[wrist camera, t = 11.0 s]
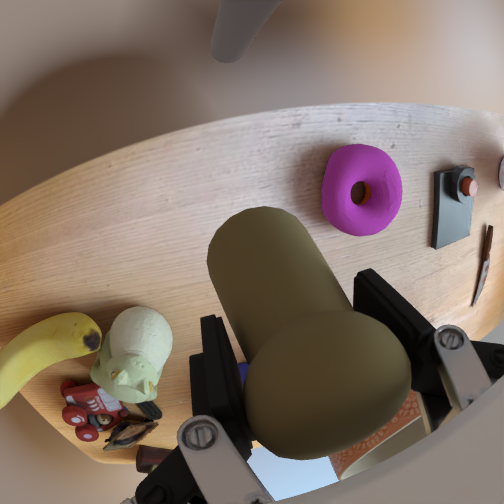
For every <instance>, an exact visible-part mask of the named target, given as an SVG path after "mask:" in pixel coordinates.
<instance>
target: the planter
mask: <svg viewBox="0 0 504 504" xmlns="http://www.w3.org/2000/svg"><path fill="white" fill-rule="evenodd" d="M425 437H426V433H425V429H424V425H423V421H422V417H421V414H420V410H419V406H418V403H417V399H416V396H415V392H414V391H413V390H412V389H411V390H410V392H409V394H408V396H407V398H406V400H405V402H404V403H403V405H402V407H401V409H400V410H399V412H398V413H397V414H396V415H395V416H394V417H393V418H392V419H391V421H390V422H388V423H387V424H386V425H385V426H384V427H382V428H381V429H380V430H379V431H378V432H376V433H375V434H373V435H372V436H370V437H369V438H367V439H365V440H364V441H362V442H360V443H358V444H356V445H354V446H352V447H350V448H348V449H346V450H343V451H341V452H338V453H335V454H333V455H330V456H328V457H329V459H330V461H331V464H332V467H333V469H334V471H335V473H336V476H337V478H338V480H339V481H341V480H343V479H346V478H348V477H351V476H353V475H355V474H358V473H360V472H362V471H364V470H366V469H369V468H371V467H373V466H375V465H377V464H379V463H381V462H383V461H385V460H387V459H389V458H391V457H392V456H394V455H396V454H398V453H400V452H402V451H403V450H405V449H407V448H408V447H410V446H412V445H413V444H415V443H417V442H418V441H420V440H422V439H423V438H425Z"/></svg>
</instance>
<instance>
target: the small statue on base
mask: <svg viewBox="0 0 504 504" xmlns="http://www.w3.org/2000/svg"><path fill="white" fill-rule="evenodd" d="M172 451H173V450H167V449H160V448H154V447H147V446H144V445H141V446H140V447H139V450H138V453H137V457H136V468H137V471H138V472H141V473H148V475H149V474H150V473H151V472H152V471H153V470H154V469H155V468H156V467H157V466H158V465H159V464H160V463H161V462H162V461H163V460H164V459H165V458H166V457H167V456H168V455H169V454H170V453H171V452H172Z"/></svg>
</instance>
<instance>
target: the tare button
mask: <svg viewBox="0 0 504 504" xmlns="http://www.w3.org/2000/svg"><path fill="white" fill-rule="evenodd" d="M461 191H462V193H463V194H466V195H468V196H471V197H473V196H475V194H476V192H477V182H476V180H474V179H471V178H467V177H465V178H464V179H463V181H462V186H461Z"/></svg>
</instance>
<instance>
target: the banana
mask: <svg viewBox="0 0 504 504" xmlns="http://www.w3.org/2000/svg"><path fill="white" fill-rule="evenodd" d="M101 339H102V333H101V330H100V328H99V327H98V326H97V324H96V323H95V322H94V321H93V320H92V319H91V318H90V317H89V316H87V315H85V314H83V313H79V312H70V313H63V314H59V315H55V316H52V317H50V318H47V319H45V320H43V321H40V322H38V323H36V324H34V325H32V326H30V327H29V328H27V329H25V330H24V331H23V332H21V333H20V334H18V335H17V336H16V337H15V338H13V339H12V340H11V341H10V342H9V343H8V344H7V345H5V346H4V347H3V348H2V349H1V350H0V409H1V408H3V407H4V406H5V405H6V404H7V403H8V402H9V401H10V400H11V399H12V398H13V397H14V395H15V394H16V393H17V392H18V391H19V390H20V389H21V388H22V387H23V386H24V385H25V384H26V383H27V382H28V381H29V380H30V379H31V378H32V377H34V376H35V375H36V374H37V373H39V372H40V371H41V370H43V369H45V368H46V367H48V366H50V365H52V364H55V363H57V362H60V361H63V360H66V359H70V358H77V357H81V356H85V355H87V354H90V353H93V352H95V351H97V350H98V349H99V347H100V343H101Z"/></svg>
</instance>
